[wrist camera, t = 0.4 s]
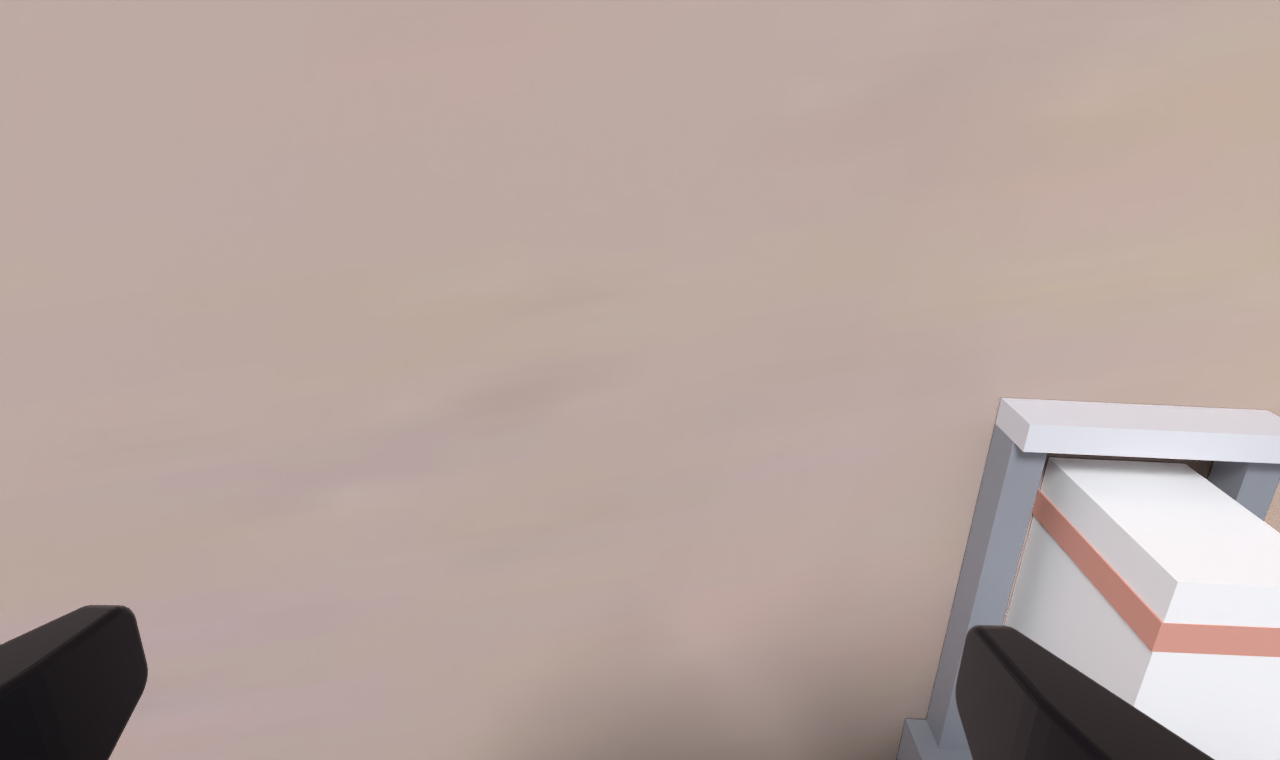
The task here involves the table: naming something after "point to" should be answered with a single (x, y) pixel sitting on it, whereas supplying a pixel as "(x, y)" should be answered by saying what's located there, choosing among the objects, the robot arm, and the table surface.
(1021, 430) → the grey frame stand
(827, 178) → the table surface
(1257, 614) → the white banded block
